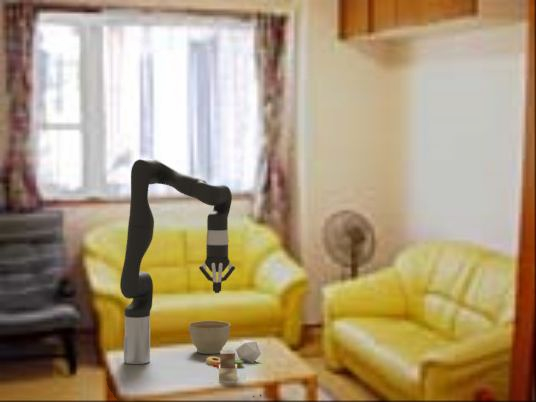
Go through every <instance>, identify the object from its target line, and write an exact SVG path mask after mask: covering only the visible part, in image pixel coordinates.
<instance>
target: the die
mask: <svg viewBox="0 0 536 402" xmlns="http://www.w3.org/2000/svg"><path fill="white" fill-rule="evenodd" d="M260 350H261V349H260V347H259V345H258V342H257V341H256V340H247V339H243V340H242V341H241V343H240V344H239V345H238V346H237V347H236V349H235V353H236V354H237V358H241V359H242V361H244V363H247V364H254V363H255V362H256V360H257V359H258V358H259V357H260V356H261V355H262V352H261V351H260Z"/></svg>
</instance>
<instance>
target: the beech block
mask: <svg viewBox="0 0 536 402" xmlns="http://www.w3.org/2000/svg"><path fill="white" fill-rule="evenodd" d="M218 374H219V380H237V374H238V368H237V364H235V368H220V364H219V369H218Z"/></svg>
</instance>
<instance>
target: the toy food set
mask: <svg viewBox="0 0 536 402" xmlns="http://www.w3.org/2000/svg"><path fill="white" fill-rule="evenodd" d="M205 363H206V364H207V366H208V367H210V368H211V369H218V370H219V364H220V356H219V357H218V356H208V357H206V359H205ZM244 363H245V362H244V361H242V359H241V358H239V357H235V364H237V369H238V368H241V367H244V365H245V364H244Z"/></svg>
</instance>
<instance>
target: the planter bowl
mask: <svg viewBox="0 0 536 402" xmlns="http://www.w3.org/2000/svg"><path fill="white" fill-rule="evenodd" d="M188 328H189V329H188V330H189V336H190V340H191V342H192V344H193V346H194V347H195V348H196V351H197V353H199V354H205V355H215V354H219V353H218V352H220V351H221V350H223V348H224V347H225V345H226V343H227V341H228V340H229V337H230V331H231V323H229V322H226V321H221V320H220V321H219V320H203V321H202V320H200V321H194V322H189V324H188Z"/></svg>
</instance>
